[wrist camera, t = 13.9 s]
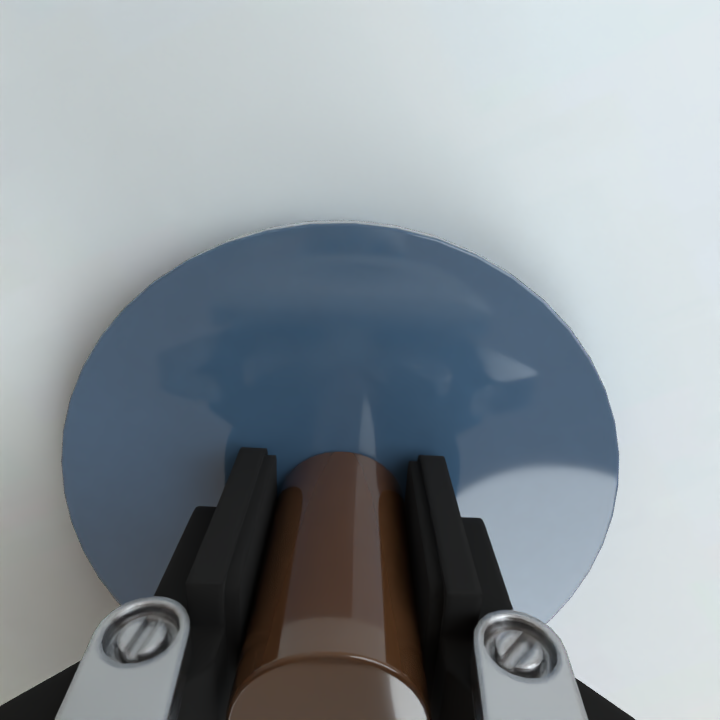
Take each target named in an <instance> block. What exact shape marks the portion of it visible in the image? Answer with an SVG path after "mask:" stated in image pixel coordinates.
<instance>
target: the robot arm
mask: <svg viewBox="0 0 720 720" xmlns="http://www.w3.org/2000/svg"><path fill="white" fill-rule="evenodd" d="M276 502H277V459H276V455H268V451H267V448H250V447H241V448H240V450H239V453H238V455H237V458H236V460H235V463H234V465H233V467H232V470H231V472H230V475H229V477H228V480H227V482H226V485H225V487H224V490H223V492H222V495H221V497H220V499H219V502H218V504H217V507H210V506H197V507H196V508H195V509H194V511H193V513H192V515H191V517H190V519H189V521H188V524H187V526H186V528H185V530H184V532H183V534H182V536H181V539H180V541H179V543H178V545H177V547H176V549H175V551H174V554H173V556H172V558H171V560H170V562H169V564H168V566H167V569H166V571H165V573H164V575H163V577H162V579H161V581H160V584H159V586H158V588H157V590H156V592H155V594H154V596H151V597H144V598H139V599H136V600H133V601H130V602H127V603H125V604H123V605H122V606H120V607H118V608H116V609H115V610H113V611H112V612H111V613H110V614H108V615H107V616H106V617H105V618H104V619H103V620H102V621H101V622H100V624H99V625H98V627H97V628H96V630H95V632H94V633H93V635H92V638H91V640H90V642H89V644H88V646H87V649H86V651H85V653H84V655H83V657H82V660H81V661H79V662H77V663H76V664H74V665H72V666H70V667H69V668H67V669H65V670H63V671H62V672H60V673H58V674H56V675H54V676H53V677H51V678H49V679H47V680H46V681H44V682H42V683H40V684H38V685H37V686H35V687H33V688H31V689H30V690H28V691H26V692H24V693H23V694H21V695H19V696H17V697H15V698H14V699H12V700H10V701H8V702H7V703H5V704H3V705H1V706H0V720H226V710H227V706H228V702H229V698H230V694H231V689H232V685H233V681H234V677H235V673H236V669H237V664H238V660H239V656H240V652H241V648H242V644H243V639H244V635H245V631H246V627H247V623H248V619H249V614H250V610H251V606H252V602H253V598H254V594H255V589H256V585H257V581H258V577H259V573H260V569H261V564H262V560H263V556H264V552H265V548H266V544H267V539H268V535H269V531H270V527H271V523H272V519H273V514H274V510H275V506H276ZM404 505H405V513H406V521H407V528H408V536H409V544H410V552H411V560H412V568H413V576H414V584H415V592H416V599H417V607H418V615H419V623H420V631H421V639H422V647H423V655H424V662H425V670H426V678H427V686H428V693H429V701H430V709H431V717H432V720H635V719H634V718H633V717H631V716H630V715H628V714H627V713H625V712H624V711H622V710H621V709H620V708H618V707H617V706H615V705H614V704H612V703H611V702H609V701H608V700H607V699H605V698H604V697H602V696H601V695H599V694H598V693H596V692H595V691H594V690H592V689H591V688H589V687H588V686H586V685H585V684H583V683H582V682H581V681H579V680H578V679H576V678H575V676H574V673H573V670H572V667H571V664H570V661H569V657H568V654H567V651H566V649H565V647H564V645H563V643H562V641H561V639H560V638H559V637H558V635H557V634H556V633H555V632H554V631H553V630H552V629H551V628H550V627H549V626H548V625H546V624H545V623H543V622H542V621H541V620H539V619H537V618H535V617H533V616H531V615H529V614H527V613H523V612H519V611H514V610H513V607H512V604H511V601H510V598H509V595H508V592H507V589H506V586H505V583H504V580H503V577H502V574H501V571H500V568H499V565H498V562H497V559H496V556H495V553H494V550H493V547H492V544H491V541H490V538H489V535H488V532H487V529H486V527H485V524H484V522H483V520H482V519H481V518H472V517H461V515H460V511H459V507H458V504H457V500H456V497H455V493H454V489H453V486H452V482H451V478H450V475H449V471H448V468H447V464H446V460H445V457H444V456H432V455H419V456H418V459H417V461H409V463H408V470H407V481H406V492H405V502H404Z"/></svg>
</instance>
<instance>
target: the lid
mask: <svg viewBox="0 0 720 720" xmlns="http://www.w3.org/2000/svg"><path fill="white" fill-rule="evenodd" d="M241 447H250V448H267V451H268V455H276V459H277V502H276V506H275V510H274V514H273V519H272V523H271V527H270V531H269V535H268V539H267V544H266V548H265V552H264V556H263V560H262V564H261V569H260V573H259V577H258V581H257V585H256V589H255V594H254V598H253V602H252V606H251V610H250V614H249V619H248V623H247V627H246V631H245V635H244V639H243V644H242V648H241V652H240V656H239V660H238V664H237V669H236V673H235V677H234V681H233V685H232V689H231V694H230V698H229V702H228V706H227V710H226V720H432V717H431V709H430V701H429V693H428V686H427V678H426V670H425V662H424V655H423V647H422V639H421V631H420V623H419V615H418V607H417V599H416V592H415V584H414V576H413V568H412V560H411V552H410V544H409V536H408V528H407V521H406V513H405V505H404V502H405V492H406V481H407V470H408V463H409V461H417V459H418V456H419V455H432V456H444V457H445V460H446V464H447V468H448V471H449V475H450V478H451V482H452V486H453V489H454V493H455V497H456V500H457V504H458V507H459V511H460V515H461V517H472V518H481V519H482V520H483V522H484V524H485V527H486V529H487V532H488V535H489V538H490V541H491V544H492V547H493V550H494V553H495V556H496V559H497V562H498V565H499V568H500V571H501V574H502V577H503V580H504V583H505V586H506V589H507V592H508V595H509V598H510V601H511V604H512V607H513V610H514V611H519V612H523V613H527V614H529V615H531V616H533V617H535V618H537V619H539V620H541V621H542V622H543V623H545V624H546V623H547V622H549V621H550V620H551V619H552V618H553V617H554V616H555V615H556V614H557V612H558V611H559V610H560V609H561V608H562V607H563V606H564V605H565V604H566V602H567V601H568V600H569V599H570V598H571V597H572V596H573V594H574V593H575V591H576V590H577V588H578V587H579V586H580V584H581V583H582V581H583V580H584V578H585V577H586V575H587V574H588V572H589V571H590V569H591V567H592V565H593V563H594V561H595V559H596V557H597V555H598V553H599V551H600V549H601V547H602V545H603V543H604V540H605V537H606V534H607V531H608V528H609V525H610V522H611V519H612V516H613V511H614V506H615V500H616V495H617V489H618V473H619V450H618V442H617V434H616V427H615V420H614V417H613V413H612V410H611V407H610V403H609V400H608V396H607V393H606V390H605V387H604V385H603V383H602V381H601V379H600V377H599V375H598V373H597V371H596V368H595V366H594V364H593V362H592V360H591V358H590V356H589V355H588V353H587V352H586V351H585V349H584V348H583V346H582V345H581V343H580V342H579V340H578V339H577V337H576V336H575V334H574V333H573V331H572V330H571V329H570V327H569V326H568V325H567V324H566V323H565V322H564V321H563V320H562V319H561V318H560V317H559V316H558V314H557V313H556V312H555V311H554V310H553V309H552V308H551V307H550V306H549V305H548V304H547V303H546V302H545V301H544V300H543V299H542V298H541V297H540V296H538V295H537V294H536V293H535V292H533V291H532V290H531V289H530V288H528V287H527V286H526V285H525V284H523V283H522V282H521V281H519V280H518V279H517V278H516V277H514V276H513V275H512V274H511V273H509V272H508V271H506V270H505V269H503V268H501V267H500V266H498V265H496V264H495V263H493V262H491V261H489V260H488V259H486V258H484V257H483V256H481V255H479V254H477V253H476V252H474V251H472V250H469V249H467V248H464V247H462V246H459V245H457V244H455V243H452V242H450V241H447V240H445V239H442V238H440V237H438V236H435V235H431V234H427V233H423V232H419V231H415V230H411V229H408V228H404V227H400V226H396V225H388V224H380V223H371V222H363V221H354V220H349V221H309V222H302V223H296V224H289V225H283V226H276V227H270V228H266V229H263V230H260V231H256V232H253V233H249V234H246V235H243V236H239V237H236V238H232V239H230V240H227V241H225V242H223V243H221V244H219V245H216V246H214V247H212V248H210V249H208V250H205V251H203V252H201V253H199V254H197V255H194V256H193V257H191V258H189V259H188V260H186V261H185V262H183V263H182V264H180V265H178V266H177V267H175V268H174V269H172V270H171V271H169V272H168V273H166V274H164V275H163V276H161V277H160V278H158V279H157V280H155V281H154V282H153V283H151V284H150V285H149V286H148V287H147V288H146V289H145V290H143V291H142V292H141V293H140V294H139V295H138V296H137V297H136V298H134V299H133V300H132V301H131V302H130V303H129V304H128V305H126V306H125V307H124V309H123V310H122V311H121V312H120V313H119V315H118V316H117V317H116V318H115V319H114V321H113V322H112V323H111V324H110V325H109V326H108V328H107V329H106V330H105V331H104V332H103V334H102V335H101V337H100V338H99V340H98V342H97V343H96V345H95V347H94V348H93V350H92V352H91V353H90V355H89V357H88V358H87V360H86V362H85V363H84V365H83V367H82V370H81V372H80V375H79V377H78V380H77V382H76V385H75V387H74V390H73V392H72V395H71V398H70V402H69V407H68V411H67V415H66V420H65V424H64V429H63V443H62V459H61V463H62V474H63V485H64V494H65V498H66V502H67V506H68V510H69V514H70V518H71V522H72V525H73V527H74V530H75V532H76V534H77V537H78V539H79V542H80V544H81V547H82V549H83V551H84V553H85V555H86V557H87V558H88V560H89V562H90V563H91V565H92V567H93V569H94V570H95V572H96V574H97V576H98V577H99V579H100V580H101V581H102V583H103V584H104V585H105V586H106V588H107V589H108V590H109V592H110V593H111V594H112V596H113V597H114V598H115V599H116V601H117V602H118V603H119V604H120V605H121V606H122V605H123V604H125V603H127V602H130V601H133V600H136V599H139V598H144V597H151V596H154V594H155V592H156V590H157V588H158V586H159V584H160V581H161V579H162V577H163V575H164V573H165V571H166V569H167V566H168V564H169V562H170V560H171V558H172V556H173V554H174V551H175V549H176V547H177V545H178V543H179V541H180V539H181V536H182V534H183V532H184V530H185V528H186V526H187V524H188V521H189V519H190V517H191V515H192V513H193V511H194V509H195V508H196V507H197V506H210V507H217V504H218V502H219V499H220V497H221V495H222V492H223V490H224V487H225V485H226V482H227V480H228V477H229V475H230V472H231V470H232V467H233V465H234V463H235V460H236V458H237V455H238V453H239V450H240V448H241Z"/></svg>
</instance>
